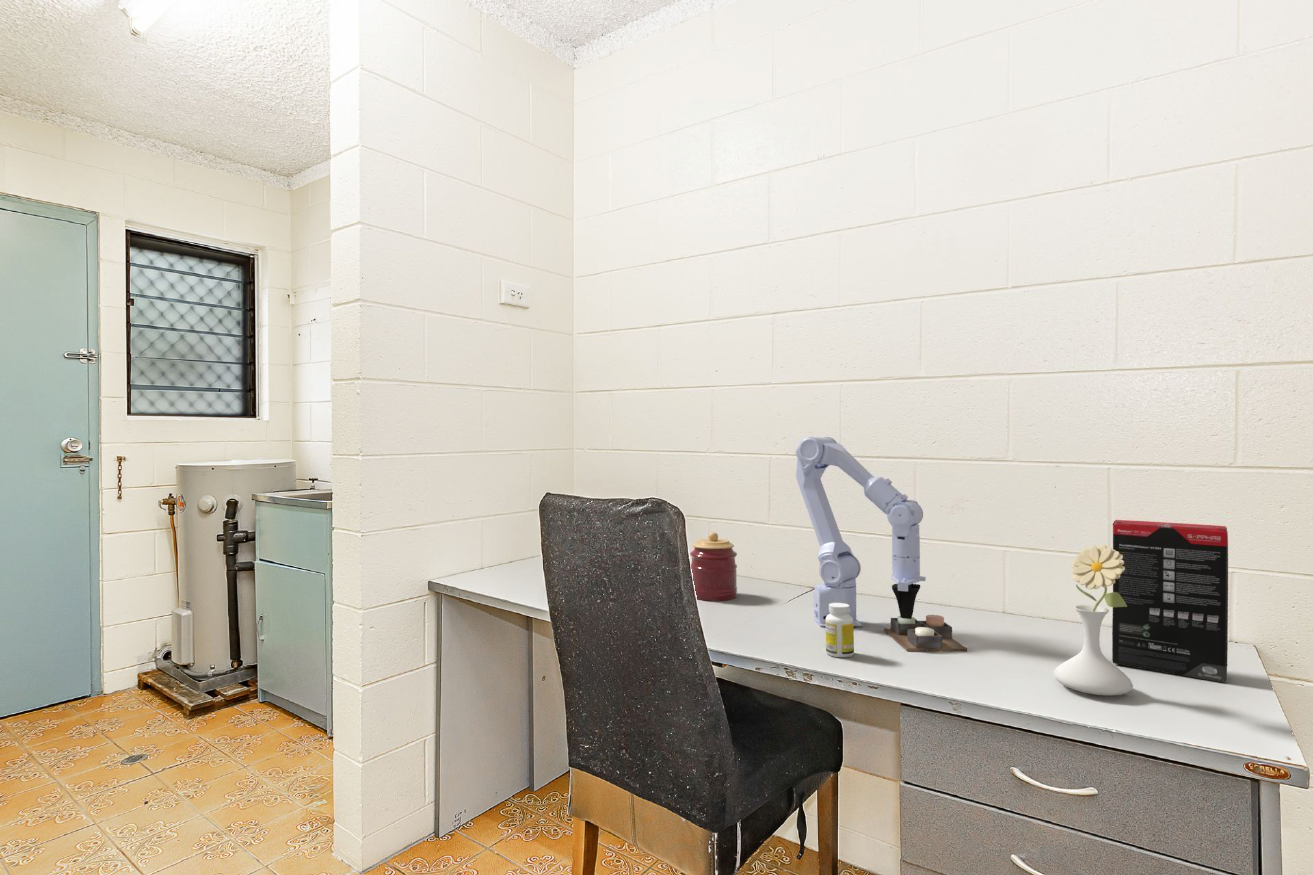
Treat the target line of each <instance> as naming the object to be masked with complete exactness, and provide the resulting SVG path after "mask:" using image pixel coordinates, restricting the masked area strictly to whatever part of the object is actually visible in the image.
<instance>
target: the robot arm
mask: <svg viewBox="0 0 1313 875" xmlns="http://www.w3.org/2000/svg"><path fill="white" fill-rule="evenodd" d="M795 455H796V457H797V460H796V473H795V478H796V481H797V485H798V487H799V491H800V494H801V495H802V499H803V502H804V504H805V507H806V509H807V514H808V515H809V518H810V519H809V520H810V521H811V524H812V527H813V529H814V532H815V536H816V538H817V541H818V544H819V546H820V548H819V551H818V554H817V559H818V562H819V567H818V568H819V569H818V570H819V576H820V578H821V580H822V581H823V582H824V583H823V584H815V586H814V592H813V594H814V595H813V602H814V603H813V605H814V606H813V609H814V610H813V612H814V615H813V619H814V620H815V622H816V623H817V624H818V625H819V626H820V627H826V617H827V615H829V614H830V612H829V604H831V603H845V604H848V605H849V606H850V611H849V613H848V615H850V616H851V617H852V618H853V627H863V624H862V623H861V622H860V621H859V620H858V619H857V578H858V577H859V576H860V574H861V571H862V570H861V567H862V566H861V563H860V561H859V559H858V557H856V556H855V555H854V553H853V552H852V549H851V547H850V546H849V545H848V544H847V543H846V542H844V540H843V538H842V535H841V532H840V529H839V527H838V524H837V521H836V518H835V516H834V515H835V514H834V513H833V510H832V507H831V505H830V501H829V498H828V497H827V493H826V491H825V488H824V485H823V481H822V480H821V479H822V477H823V475H824V473H825V470H826V469H827V468H829V466H835V467H837V468H839V469H840V470H842V472H844V473H845V474H846V475H847V476H849V477H850V478H851V479H853V480H854V481H855V482H856V483H857V484H859V485H860V486H862V487H863V492H864V493H863V494H864V496H865V497H866V498H867V499H868V500H869V501H870V502H872V503H873V504H874V506H876V507H877V508H878V509H879V510H880V511H882V513H884V514H885V515H886V517H887V518H886V519H887V521H888V523H889V524H890V525H891V531H892V532H891V533H892V534H891V548H892V549H891V559H892V560H891V565H892V566H891V570H892V571H891V576H890V577H891V578H890V579H891V580H892V581H893V582H895V583H893V584H892V585H891V589H892V592H893V594H894V595H895V598H896V602H897V605H898V610H899V611H898V612H899V614H900V615H899V616H901V618H906V619H911V618H912V617H913V615H914V609H915V608H914V607H915V603H916V598H917V594H918V593H919V591H920V589H921V585H920V584H918V583H919V582H926V581H927V579H926V578H927V577H926V576H921V550H920V549H921V547H920V546H921V545H920V544H921V541H920V539H921V538H920V537H921V535H920V523H921V522H922V520H923V518H924V510H923V509H922V507H921V505H920V504H919V503H918V501H917V500H912V499H909V498H908V495H907V494H905V493H904V494H903V493H902V492H900V491H899V490H898V489H897V488H895V487H894V486H893V485H892V483H893V481H892V480H890V479H889V478H884V477H882V476H880V477H879V476H876V477H875V476H874V475H873V474H872V473H870V471H868V469H867V468H865V467H864V465H862V464H861V463H860V461H858V460H857V459H856V458H855V457H854V456H853V455H852V454H851V453H850V452H849V451H848V450H847V449H846V448H845V446H843V445H842V444H840V443H839V442H837V441H836V439H834V437H831V436H824V437H822V436H821V437H819V436H818V437H815V436H807V437H804V438H803V439H802V440H801V441H800V442H799V444H798V446H797V448H796V450H795Z"/></svg>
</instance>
